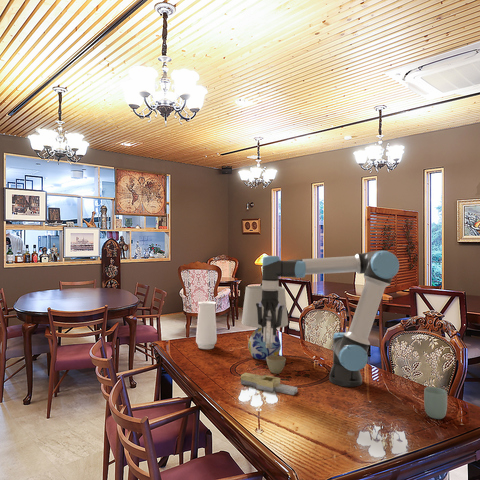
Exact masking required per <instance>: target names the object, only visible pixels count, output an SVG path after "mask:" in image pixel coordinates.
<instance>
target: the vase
mask: <svg viewBox="0 0 480 480" xmlns="http://www.w3.org/2000/svg"><path fill="white" fill-rule="evenodd" d="M197 304H198V311H197V312H198V313H197V322H196V323H197V324H196V336H195V343H196V344H197V347H198V349H201V350H212V349H214V348H215V344H217V340H218V337H217V335H218V334H217V318H216V316H217V315H216V304H217V302H216V301H206V300H205V301H198V302H197Z"/></svg>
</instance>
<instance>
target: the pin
mask: <svg viewBox="0 0 480 480" xmlns="http://www.w3.org/2000/svg"><path fill="white" fill-rule="evenodd" d="M265 319H266V348H272V343H271V328H272V327H273V326H272V317H271V316H265Z"/></svg>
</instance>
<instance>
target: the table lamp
mask: <svg viewBox="0 0 480 480" xmlns="http://www.w3.org/2000/svg"><path fill="white" fill-rule="evenodd" d="M262 290H263V289H262V285H248V286H245V291H244V292H245V294H244V298H243V299H244V301H243V307H242V309H243V310H242V315H241V316H242V317H241V324H242V325H243V326H246V327H250V328H256V329H255V330H254V331H253V332H252V334H251V335H250V337H249V339H248V343H247V349H248V351H249V353H250V355H251V357H252V358H254V359H256V360H260V361H261V360H262V361H267V360H266V357H268V356H273V355H275V356H279V353H280V352H281V349H282V348H281V346H282V345H281V340H280V337H279V335H278V334H276V335H275V342H273V343H272V348H266V341H265V342H263V334H262V326H261V325H259V324H258V313H257V306H256V303H259V302H261V300H262ZM277 290H278V301H279V304H281V305H284V308H283V311H282V320H281V326H280V327H277V329H278V328H285V327H287V326H288V325H289V319H288V310H287V309H288V307H287V301H286V289H285V287H283V286H279V289H277ZM263 310H264V307H263V305H262V319H263V313H264V312H263ZM277 315H278V306H277V307H276V319H277ZM268 316H271V312H270V310H269V312H268Z"/></svg>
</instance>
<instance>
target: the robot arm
mask: <svg viewBox="0 0 480 480" xmlns="http://www.w3.org/2000/svg"><path fill="white" fill-rule="evenodd" d="M261 269H262V272H261V273H262V275H261V279H262V280H261V281H262V282H261V286H262V289H263V290H262V300H261V302H259V303H256V306H257V313H258V324H259V325H261V326H262V334H263V342H265V341H266V319H265V316H268V312H269V310H270V312H271V317H272V326H273V327H272V328H271V343H273V342H275V335H276V334H277V331H278V328H277V327H280V326H281V320H282V311H283V308H284V305H281V304H279V301H278V290H277V289H279V287H280V286H279V278H296V279H300V278H302V279H303V278H305V277H306V275H321V274H342V273H343V274H344V273H357V274H358V275H362V274H363V278H364V280H365V281H364V285H363V287H362V290H361V294H360V295H359V296H360V297H359V300H358V303H357V306H356V308H355V311H354V314H353V318H352V320H351V323H350V325H349V329H348V331H347V332H334V334H333V338H332V341H333V343H332V344H333V346H332V347H333V350H332V351H333V353H332V355H333V356H332V360H333V361H332V366H331V369H330V372H329V376H328V377H329V378H328V380H329V382H330V383H332V384H333V385H337V386H340V387H349V388H350V387H351V388H352V387H354V388H355V387H359V386H361V385H362V384H363V377H362V373H361V370H362V369H364V368H365V367H366V366H367V364H368V358H369V357H368V351H369V348H370V346H371V342H370V341H369V336H370V333H371V330H372V328H373V324H374V322H375V318H376V316H377V313H378V310H379V307H380V304H381V302H382V298H383V295H384V293H385V289H386V288H387V287H388V286H391V284H392V281H393V278H394V277H395V276H396V275H397V274H398V273H399V270H400V261H399V259H398V257H397V256H396V255H395V254H394V253H392V252H390V251H388V250H383V249H382V250H373V251H368V252H362V253H356V254H355V255H349V256H335V257H317V258H300V259H288V260H281V258H280V257H279V255H265V256H263V258H262V268H261ZM262 305H263V307H264V310H263V312H264V313H263V319H262ZM277 306H278V315H277V319H276V307H277ZM280 328H281V327H280ZM277 335H278V334H277Z"/></svg>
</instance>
